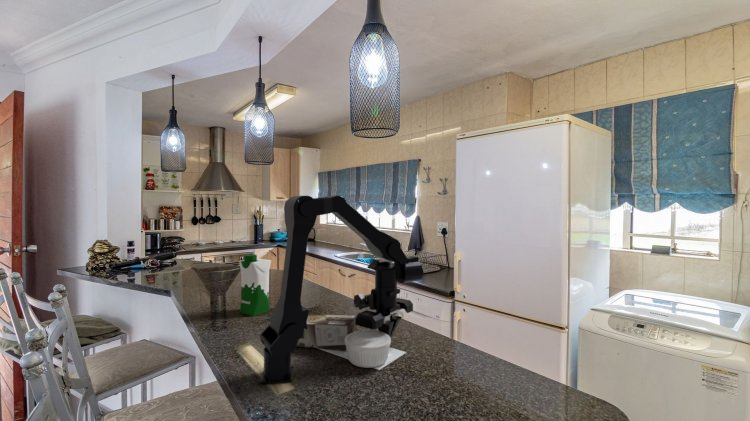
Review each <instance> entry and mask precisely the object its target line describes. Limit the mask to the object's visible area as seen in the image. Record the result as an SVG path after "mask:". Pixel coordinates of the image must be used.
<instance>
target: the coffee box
mask: <svg viewBox="0 0 750 421" xmlns="http://www.w3.org/2000/svg"><path fill="white" fill-rule="evenodd" d="M355 316H356V315H344V314H342V315H341V314H314V313H313V314H309V313H308V318H307V329H305V328H304V334H303V336H302V338H300V339H299V340H298V343H297V346H296V348H298V347H299V348H315V349H317V348H327V349H342V350H346V345H345V337H346V336H347V335H349V334H351V333H353V332H357V331H358V330H357V326H358V325H356V324H355Z"/></svg>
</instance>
